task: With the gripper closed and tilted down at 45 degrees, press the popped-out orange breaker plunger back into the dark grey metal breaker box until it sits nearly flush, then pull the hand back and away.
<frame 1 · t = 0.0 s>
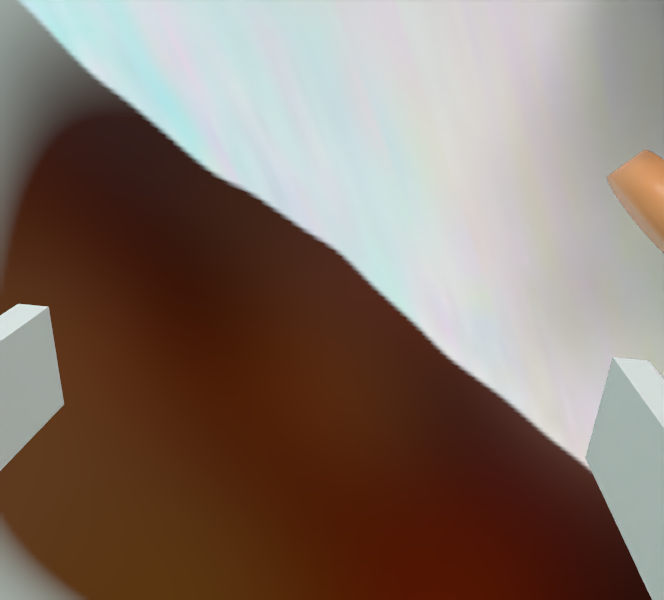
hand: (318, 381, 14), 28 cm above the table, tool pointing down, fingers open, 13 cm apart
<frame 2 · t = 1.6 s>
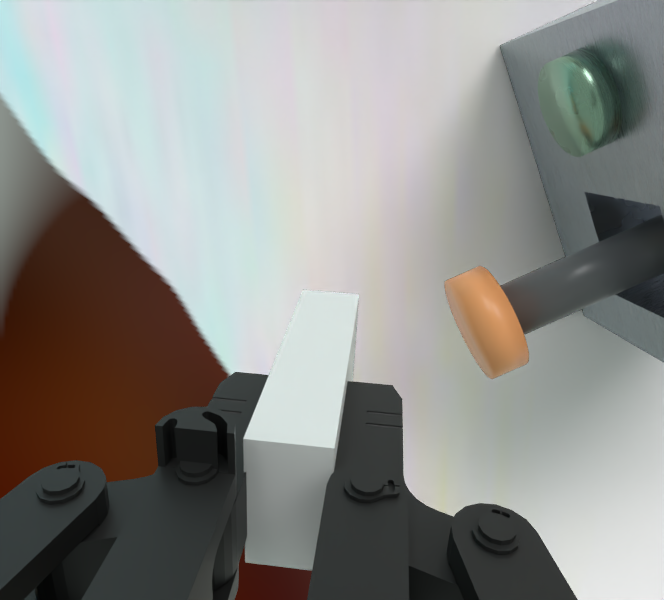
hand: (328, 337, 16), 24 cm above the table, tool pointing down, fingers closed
tripped breaker plunger: (575, 282, 32), point 9 cm above the table, slide at 0.0 cm
breaker box: (545, 190, 40), on the table
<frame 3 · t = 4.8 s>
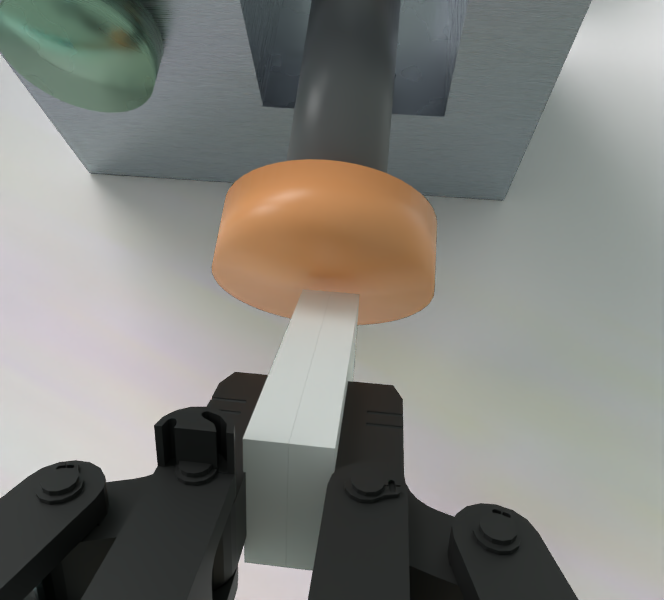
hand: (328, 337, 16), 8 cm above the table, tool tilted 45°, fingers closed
tripped breaker plunger: (344, 97, 18), point 9 cm above the table, slide at 1.1 cm, touching gripper
breaker box: (290, 186, 28), on the table
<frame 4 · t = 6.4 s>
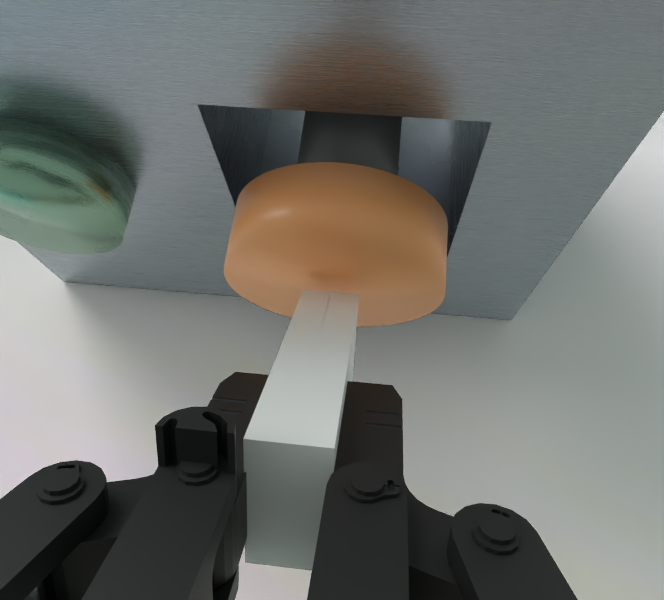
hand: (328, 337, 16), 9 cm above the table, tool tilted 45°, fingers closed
tripped breaker plunger: (355, 99, 18), point 9 cm above the table, slide at 7.0 cm, touching gripper
breaker box: (280, 300, 25), on the table
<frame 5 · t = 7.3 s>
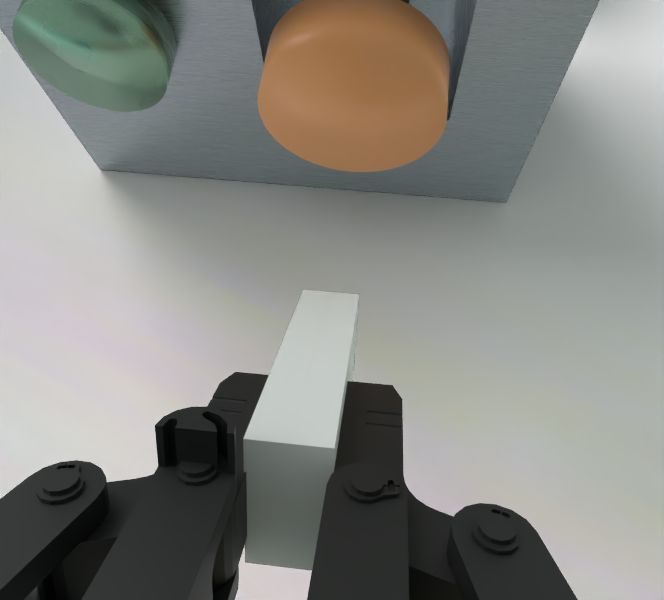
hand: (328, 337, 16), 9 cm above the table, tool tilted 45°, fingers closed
breaker box: (297, 185, 28), on the table
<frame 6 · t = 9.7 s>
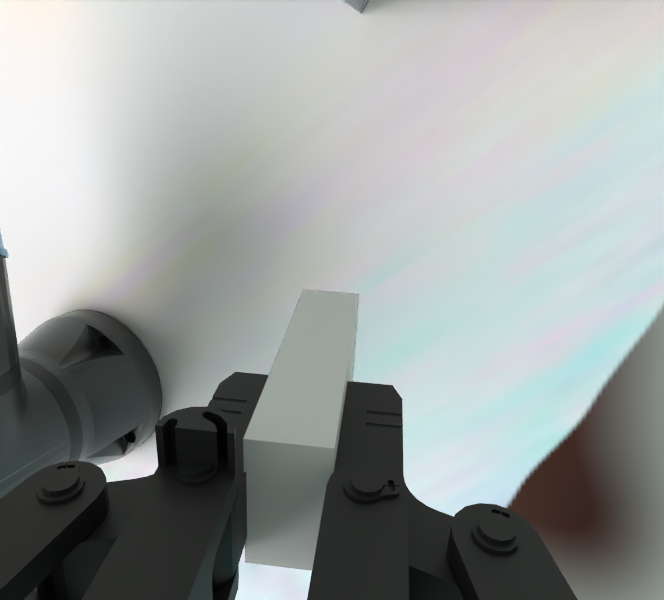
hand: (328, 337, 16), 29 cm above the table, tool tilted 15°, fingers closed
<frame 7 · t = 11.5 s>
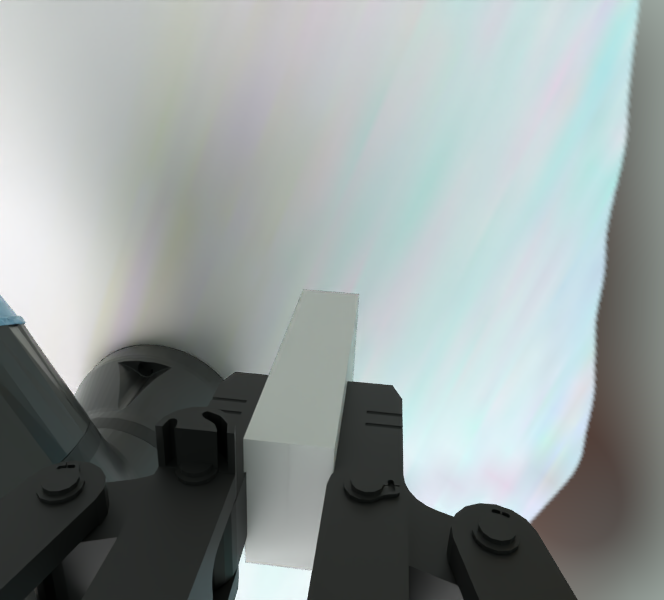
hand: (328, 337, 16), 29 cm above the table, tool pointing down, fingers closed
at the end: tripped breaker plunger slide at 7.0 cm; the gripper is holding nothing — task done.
